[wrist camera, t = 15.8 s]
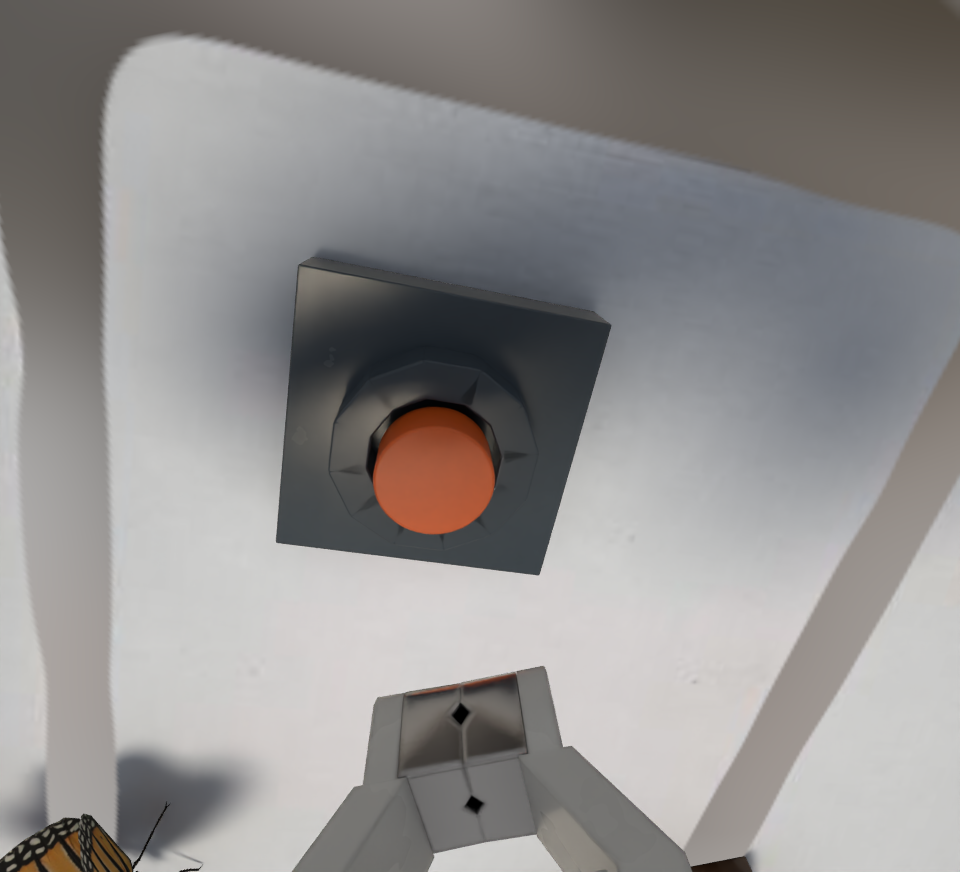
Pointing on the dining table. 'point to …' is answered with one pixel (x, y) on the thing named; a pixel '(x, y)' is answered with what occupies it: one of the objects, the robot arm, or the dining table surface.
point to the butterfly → (71, 849)
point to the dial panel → (724, 866)
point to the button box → (430, 383)
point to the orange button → (433, 471)
